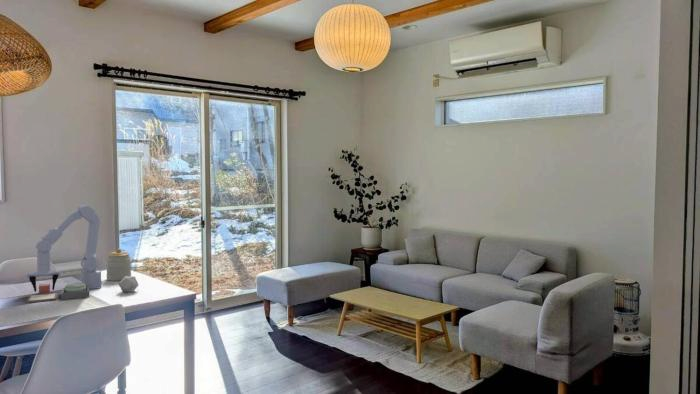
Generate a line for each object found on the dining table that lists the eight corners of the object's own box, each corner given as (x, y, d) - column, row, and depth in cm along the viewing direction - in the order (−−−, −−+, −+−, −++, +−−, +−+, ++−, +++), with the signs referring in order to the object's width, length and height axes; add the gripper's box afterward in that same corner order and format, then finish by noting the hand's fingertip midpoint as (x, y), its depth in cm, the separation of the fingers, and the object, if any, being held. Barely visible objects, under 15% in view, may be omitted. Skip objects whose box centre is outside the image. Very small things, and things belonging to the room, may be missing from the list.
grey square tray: (89, 291, 249) (89, 285, 249) (89, 296, 238) (89, 290, 238) (62, 293, 243) (62, 288, 243) (61, 299, 232) (61, 293, 232)
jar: (124, 281, 272) (124, 250, 271) (102, 281, 272) (101, 250, 271) (135, 276, 285) (135, 246, 284) (113, 276, 285) (113, 246, 284)
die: (125, 295, 243) (138, 279, 246) (112, 286, 245) (125, 270, 247) (132, 297, 251) (144, 282, 254) (119, 288, 252) (131, 273, 255)
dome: (86, 288, 247) (86, 281, 247) (86, 292, 239) (86, 285, 238) (65, 290, 242) (65, 283, 242) (64, 294, 234) (64, 287, 234)
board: (57, 294, 242) (57, 292, 242) (56, 300, 232) (56, 298, 231) (29, 297, 236) (29, 295, 236) (26, 302, 226) (26, 301, 226)
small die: (50, 292, 247) (49, 283, 246) (49, 294, 243) (49, 285, 243) (39, 293, 245) (39, 284, 244) (38, 295, 241) (38, 286, 240)
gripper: (61, 261, 250) (61, 287, 250) (27, 263, 243) (28, 290, 244) (60, 263, 244) (60, 290, 244) (26, 265, 237) (26, 293, 237)
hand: (44, 290), depth 244 cm, fingers open, 7 cm apart
